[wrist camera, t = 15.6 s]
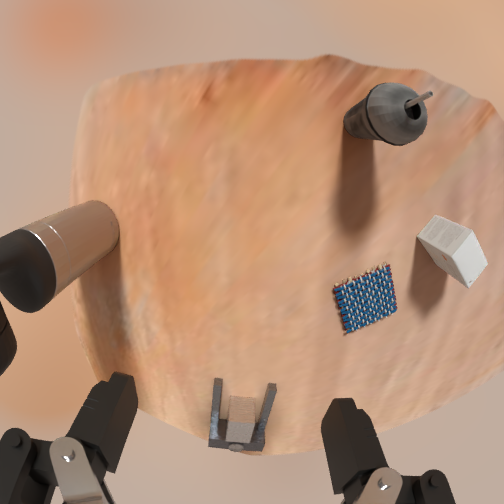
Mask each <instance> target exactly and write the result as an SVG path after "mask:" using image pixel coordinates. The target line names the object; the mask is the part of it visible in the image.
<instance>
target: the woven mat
mask: <svg viewBox="0 0 504 504" xmlns="http://www.w3.org/2000/svg"><path fill="white" fill-rule="evenodd" d="M377 267H378V268H377V269H376V270H375V267H374V266H373V267H372V272H370V270H369V269H368V270H367V271H366V274H365V275H364V273H361V274H360V277H358V278H357V276H354V279H352V278H351V277H349V278H348V281H347V282H346V283H345V280H344V279H343V280H342V282H343V284H341V285H339V284H338V283H337V282H336V283H335V288H333V289H334V291H335V292H334V294H336V298H337V299H338V300H337V302H338V305H339V309H341V308H342V309H341V311H340V313H341V316H342V317H343V316H344V317H343V318H342V319H343V321H344V322H343V323H344V324H345V323H346V324H345V325H344V327H345V330H347V329H348V330H347V333H349V332H351V331H354V330H356V331H357V329H360V327H361V326H364V327H365V326H366V324H367V325H368V324H369V323H370V324H372V323H373V322H374V321H375V322H376V320H378V321H380V320H379V319H380V318H381V319H382V317H384V316H386V318H387V316H388V314H389V315H390V314H391V313H392V314H393V313H394V312H395V311H396V310H397V306H396V305H397V303H396V296H395V295H394V293H395V291H394V288H393V287H394V285H393V281H392V279H391V278H392V276H391V275H392V273H391V272H390V270H391V269H390V264H389V265H387V264H386V262H384V265H383V266H382V265H381V264H379V265H378V266H377ZM387 292H388V293H387ZM379 303H380V304H379ZM389 303H390V304H389Z"/></svg>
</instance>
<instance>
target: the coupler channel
mask: <svg viewBox="0 0 504 504" xmlns="http://www.w3.org/2000/svg"><path fill="white" fill-rule="evenodd" d="M221 387H222V379H220V378H215V379H214V387H213V400H212V413H211V426H210V433H209V447H215V448H224V449H229V450H231V451H234V452H239V451H242V450H246V451H262V450H263V447H264V445H265V431H264V429H265V426H266V423H267V420H268V417H269V414H270V411H271V408H272V404H273V401H274V398H275V395H276V391H277V389H276V384H272V383H268V387H267V391H266V394H265V398H264V402H263V405H262V409H261V412H260V416H259V419H258V423H257V422H255V426H254V429H253V433H252V436H251V440H250V443H240V442H229V441H226V427H227V420H223V419H218V415H219V405H220V396H221Z"/></svg>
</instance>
